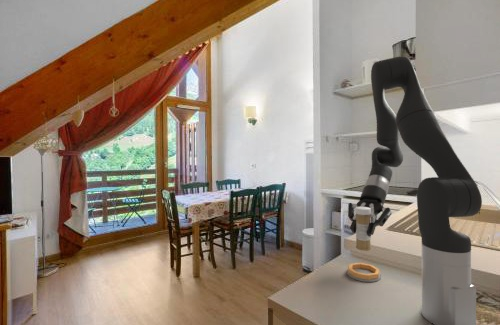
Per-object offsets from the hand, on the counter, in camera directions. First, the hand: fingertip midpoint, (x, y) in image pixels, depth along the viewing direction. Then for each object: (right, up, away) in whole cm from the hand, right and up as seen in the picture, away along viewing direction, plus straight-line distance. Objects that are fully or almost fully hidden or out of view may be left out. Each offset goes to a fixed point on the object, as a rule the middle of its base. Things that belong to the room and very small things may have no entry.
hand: (360, 233), depth 84 cm
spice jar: (+2, -6, +1) cm, 6 cm away
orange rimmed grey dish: (+2, -14, +1) cm, 14 cm away
